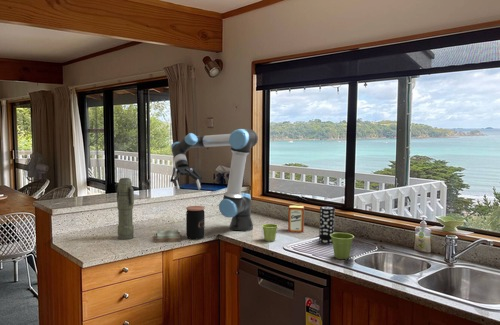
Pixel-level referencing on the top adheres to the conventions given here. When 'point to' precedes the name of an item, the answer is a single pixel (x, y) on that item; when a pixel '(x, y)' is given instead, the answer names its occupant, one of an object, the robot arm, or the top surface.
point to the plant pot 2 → (342, 244)
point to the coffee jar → (195, 222)
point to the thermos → (125, 209)
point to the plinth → (167, 236)
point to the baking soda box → (296, 218)
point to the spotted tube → (326, 224)
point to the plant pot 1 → (269, 231)
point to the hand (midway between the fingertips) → (189, 189)
